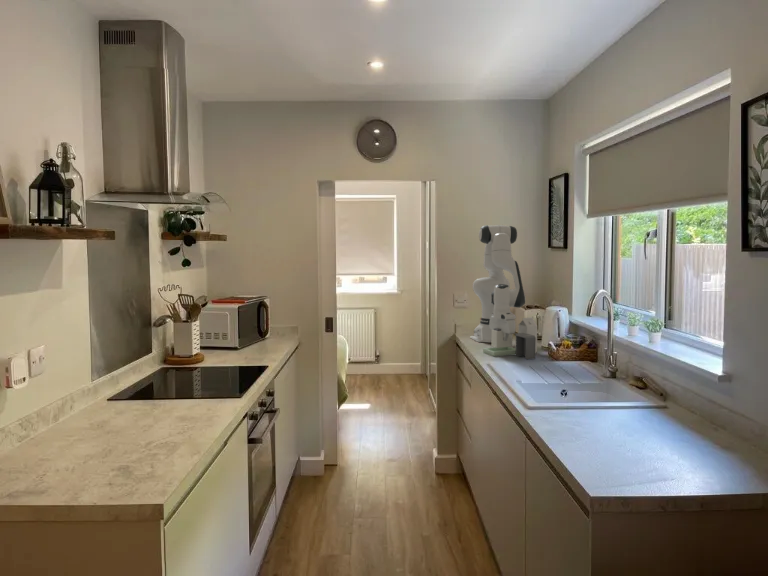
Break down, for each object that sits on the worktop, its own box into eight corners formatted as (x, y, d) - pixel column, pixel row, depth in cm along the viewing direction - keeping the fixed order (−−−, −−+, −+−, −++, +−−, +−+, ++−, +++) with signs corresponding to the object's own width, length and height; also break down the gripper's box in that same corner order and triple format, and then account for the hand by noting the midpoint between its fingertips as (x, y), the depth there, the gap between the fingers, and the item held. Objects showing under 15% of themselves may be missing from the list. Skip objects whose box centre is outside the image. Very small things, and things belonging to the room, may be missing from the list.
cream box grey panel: (491, 346, 299) (491, 328, 298) (507, 344, 302) (507, 327, 302) (496, 347, 294) (496, 329, 293) (512, 346, 298) (512, 328, 297)
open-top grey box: (514, 355, 292) (515, 333, 291) (524, 354, 294) (524, 332, 293) (525, 359, 283) (525, 336, 282) (535, 358, 286) (535, 335, 285)
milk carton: (518, 351, 303) (518, 317, 302) (528, 350, 306) (528, 316, 305) (526, 353, 297) (527, 319, 295) (536, 352, 300) (537, 318, 298)
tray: (483, 352, 301) (483, 348, 301) (507, 350, 307) (507, 346, 307) (494, 356, 291) (494, 352, 291) (519, 354, 297) (519, 349, 296)
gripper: (486, 312, 305) (486, 337, 306) (507, 317, 286) (507, 343, 288) (496, 311, 308) (496, 336, 309) (517, 316, 289) (517, 342, 290)
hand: (501, 339), depth 298 cm, fingers closed on cream box grey panel, 5 cm apart
